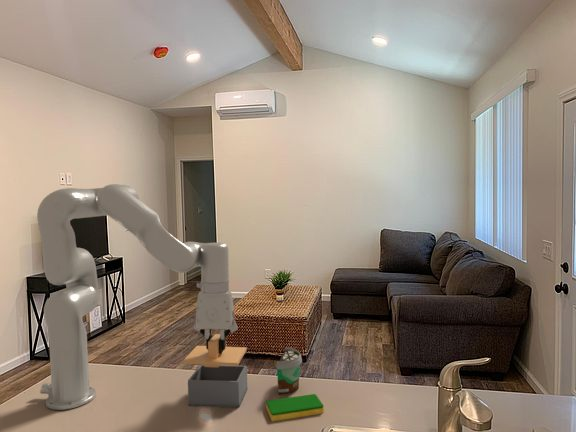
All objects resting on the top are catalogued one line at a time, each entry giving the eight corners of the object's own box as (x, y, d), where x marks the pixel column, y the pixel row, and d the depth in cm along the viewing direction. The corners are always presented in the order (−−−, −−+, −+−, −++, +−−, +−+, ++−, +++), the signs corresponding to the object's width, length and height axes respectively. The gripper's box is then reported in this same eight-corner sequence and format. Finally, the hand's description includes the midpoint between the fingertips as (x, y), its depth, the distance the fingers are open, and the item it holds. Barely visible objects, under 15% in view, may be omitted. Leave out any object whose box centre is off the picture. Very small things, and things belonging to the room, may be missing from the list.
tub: (188, 406, 116) (187, 380, 116) (201, 387, 127) (200, 364, 127) (239, 407, 115) (238, 382, 115) (247, 389, 126) (246, 365, 125)
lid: (182, 368, 116) (182, 344, 115) (197, 352, 127) (196, 330, 127) (237, 370, 114) (237, 346, 114) (246, 354, 126) (246, 332, 126)
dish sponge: (324, 414, 111) (323, 405, 111) (271, 423, 108) (271, 413, 107) (315, 402, 118) (315, 393, 118) (266, 409, 114) (265, 400, 114)
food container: (298, 398, 119) (297, 363, 119) (277, 397, 120) (276, 362, 120) (305, 379, 131) (305, 347, 131) (286, 378, 132) (285, 346, 132)
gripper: (182, 289, 117) (183, 355, 118) (240, 290, 115) (241, 358, 116) (191, 283, 124) (192, 346, 125) (246, 284, 122) (246, 348, 123)
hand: (216, 351), depth 121 cm, fingers closed on lid
